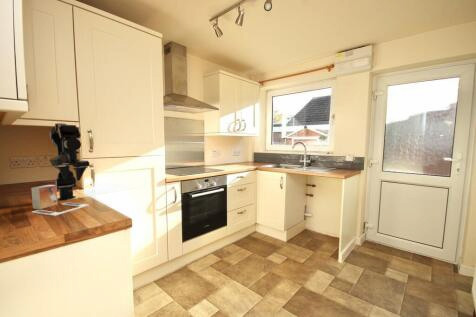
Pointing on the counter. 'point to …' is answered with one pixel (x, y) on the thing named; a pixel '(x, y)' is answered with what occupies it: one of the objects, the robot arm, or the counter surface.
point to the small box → (44, 196)
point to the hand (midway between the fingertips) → (72, 180)
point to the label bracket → (60, 212)
